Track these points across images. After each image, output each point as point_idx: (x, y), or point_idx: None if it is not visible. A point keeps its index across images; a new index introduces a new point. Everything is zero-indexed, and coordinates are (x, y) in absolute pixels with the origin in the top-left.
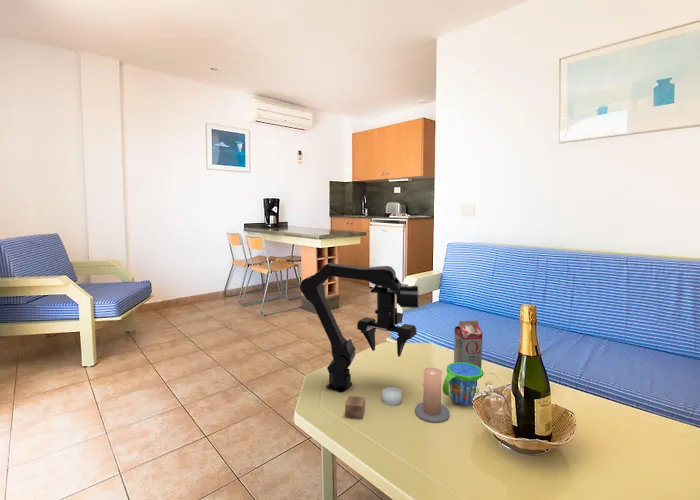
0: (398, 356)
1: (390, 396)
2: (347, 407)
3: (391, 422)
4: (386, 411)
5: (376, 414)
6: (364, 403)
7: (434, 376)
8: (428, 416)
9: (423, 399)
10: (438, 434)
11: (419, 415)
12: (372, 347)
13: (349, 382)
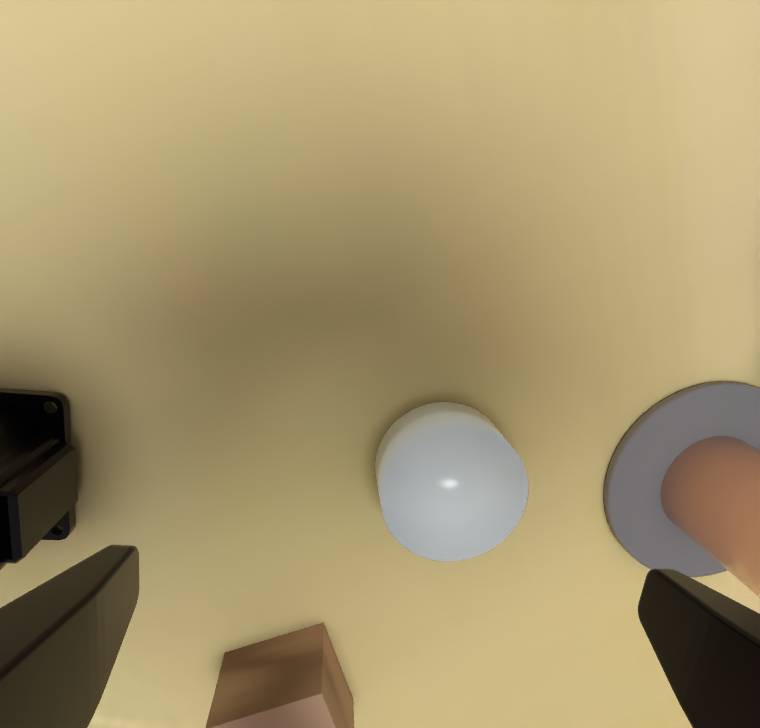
0: (648, 619)
1: (465, 556)
2: None
3: (505, 655)
4: (448, 583)
5: (405, 632)
6: (329, 682)
7: None
8: (695, 548)
9: (713, 547)
10: None
11: (646, 562)
12: (99, 697)
13: (58, 478)
